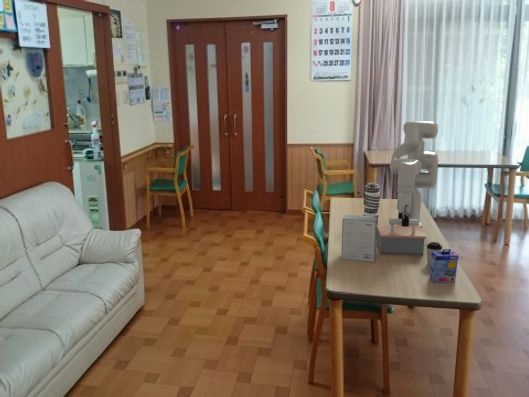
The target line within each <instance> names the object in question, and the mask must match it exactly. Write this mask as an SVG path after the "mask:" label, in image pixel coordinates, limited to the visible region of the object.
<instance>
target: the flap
mask: <svg viewBox="0 0 529 397" xmlns="http://www.w3.org/2000/svg"><path fill="white" fill-rule="evenodd" d="M409 225H412V226H408V227H402V219H398V218H388V224H378V225H377V229H378V231H379V234H380V236H381V237H390V238H425V239H427V235H426V234H425V232H424V230H423V228H422V227H420V226H415V225H418V219H409Z"/></svg>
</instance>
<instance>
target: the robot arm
mask: <svg viewBox="0 0 529 397" xmlns="http://www.w3.org/2000/svg"><path fill="white" fill-rule="evenodd" d="M403 132H404V139H403V140H404V141H403V142H402V143H401V144H400V145H398V146H397V147H396V148H395V149H394V150H393V152H392V155H391V160H390V162H389V163H390V165H389V168H390V172H391V173H392V174H395V175H398V176H397V188H396V190H397V192H398V193H397V201H396V202H397V203H396V210H397V211H398V213H397V215H398V216H397V219H402V227H408V226H412V225H409V219H418V225H415V226H420V228H422V227H423V223H422V222H421V207H422V193H421V192H420V190H419V189H424V190H426V189H428V190H430V189H434V188H436V185H437V180H438V166H439V157H438V154H437V153H436V152H434V151H433V152H432V151H425V145H426V144H425V140H424V139H430V140H431V139H436V138H437V136H438V132H439V126H438V123H437V122H436V121H435V122H434V121H427V120H426V121H423V120H421V121H420V120H419V121H418V120H416V121H415V120H413V121H405V123H404V124H403ZM404 156H407V157H406V158H402V157H404Z"/></svg>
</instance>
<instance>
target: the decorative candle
mask: <svg viewBox="0 0 529 397" xmlns="http://www.w3.org/2000/svg"><path fill="white" fill-rule="evenodd" d="M364 187H365V188H364V192H363V208H364V209H363V210H364V211H363V214H362V216H372V217H377V225H379V208H380V206H379V205H380V204H381V203H380V201H381V200H380V199H381V197H380V195H381V192H380V187H381V186H380V185H379V184H378V183H377V182H367V184H366V185H364Z"/></svg>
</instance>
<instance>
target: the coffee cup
mask: <svg viewBox="0 0 529 397" xmlns="http://www.w3.org/2000/svg"><path fill="white" fill-rule="evenodd" d="M442 250H443V246H442V245H441V244H440V243H439V242H437V241H431V242H429V243H427V245H426V255H427V256H426V259H427V266H429V267H430V265H431V255H432V252H435V251H441V252H442Z"/></svg>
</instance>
